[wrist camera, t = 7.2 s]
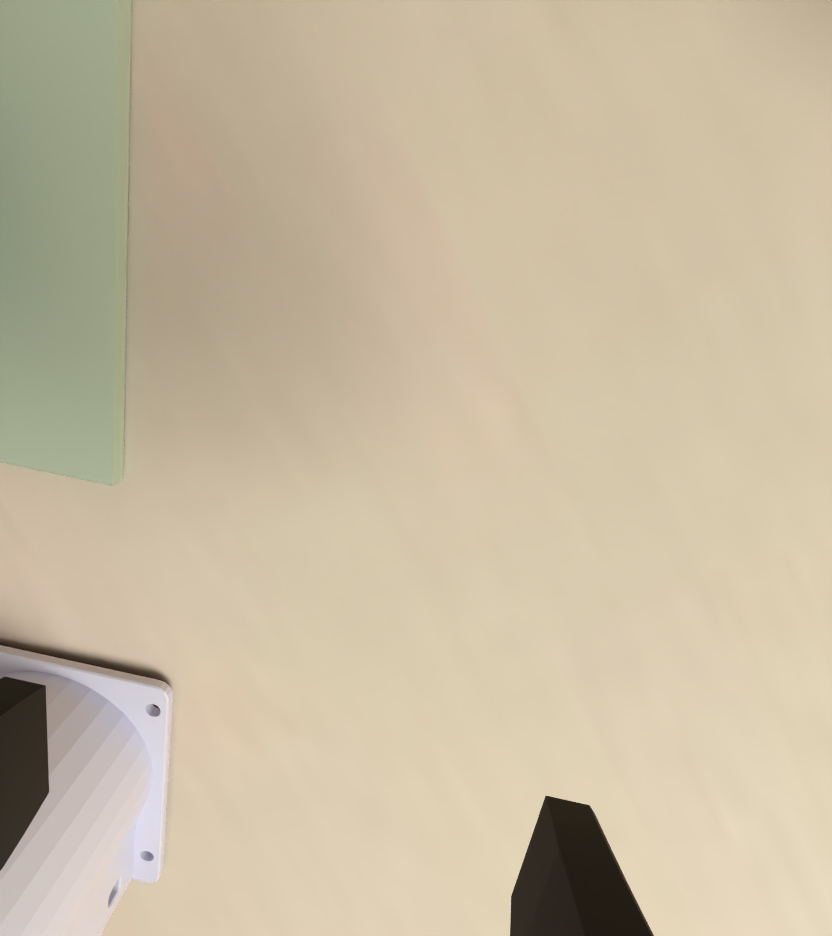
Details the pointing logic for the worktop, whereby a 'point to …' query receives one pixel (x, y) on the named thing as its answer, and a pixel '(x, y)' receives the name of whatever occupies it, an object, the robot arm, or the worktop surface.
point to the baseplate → (64, 234)
